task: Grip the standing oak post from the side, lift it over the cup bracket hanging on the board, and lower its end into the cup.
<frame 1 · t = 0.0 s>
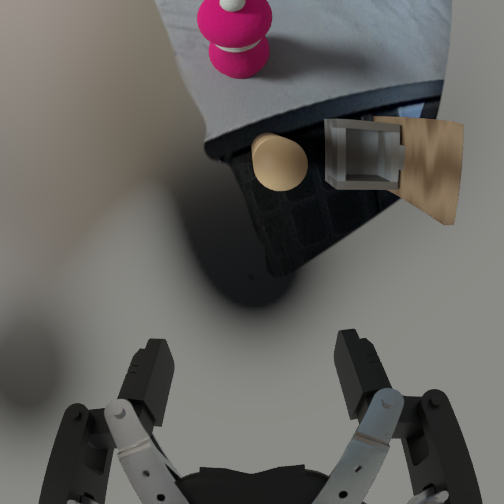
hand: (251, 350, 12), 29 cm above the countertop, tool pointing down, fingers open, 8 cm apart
cup bracket: (344, 147, 35), on the countertop
oak post: (267, 148, 35), on the countertop
pepper mill: (240, 58, 30), on the countertop
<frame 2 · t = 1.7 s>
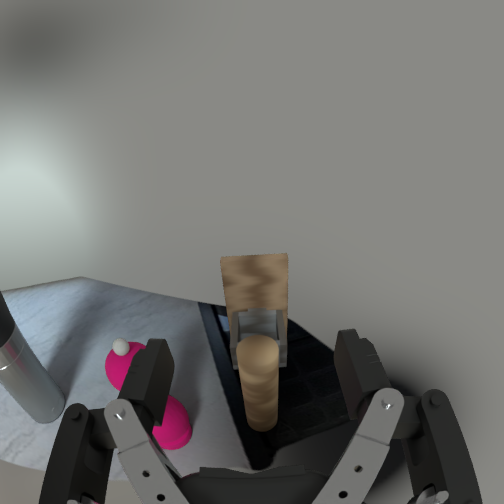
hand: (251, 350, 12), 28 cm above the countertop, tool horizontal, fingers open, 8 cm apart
cup bracket: (260, 364, 44), on the countertop
oak post: (262, 419, 34), on the countertop
pepper mill: (172, 433, 32), on the countertop
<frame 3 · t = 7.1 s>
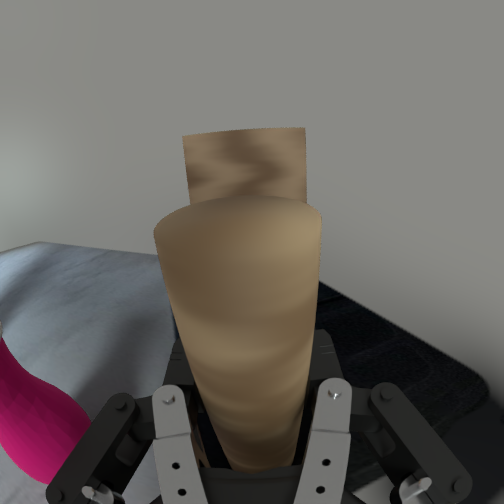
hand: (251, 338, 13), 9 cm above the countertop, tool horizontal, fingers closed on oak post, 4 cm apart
cup bracket: (257, 344, 24), on the countertop
oak post: (260, 454, 14), on the countertop, touching gripper
pepper mill: (81, 463, 12), on the countertop
when the fingers open (15 cm above the countertop, at t = 12.7 s): oak post drops 1 cm, resting on cup bracket.
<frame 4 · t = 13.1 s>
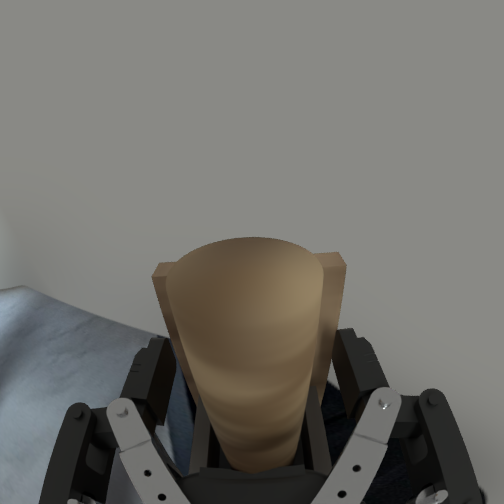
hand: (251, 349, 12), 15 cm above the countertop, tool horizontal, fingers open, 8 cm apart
cup bracket: (263, 476, 17), on the countertop
oak post: (261, 461, 15), point 5 cm above the countertop, touching cup bracket
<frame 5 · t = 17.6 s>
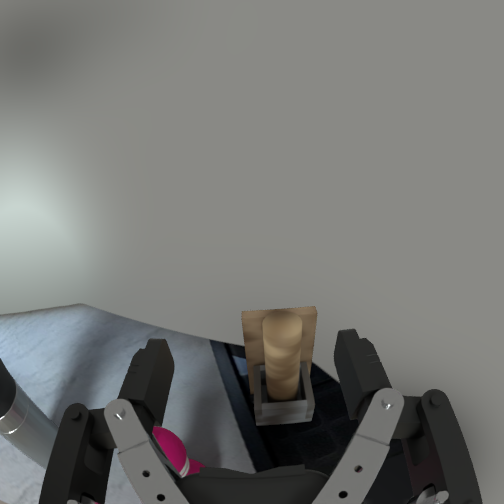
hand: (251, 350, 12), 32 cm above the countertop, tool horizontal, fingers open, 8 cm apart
cup bracket: (281, 414, 39), on the countertop
oak post: (282, 399, 37), point 5 cm above the countertop, touching cup bracket
pepper mill: (194, 488, 27), on the countertop
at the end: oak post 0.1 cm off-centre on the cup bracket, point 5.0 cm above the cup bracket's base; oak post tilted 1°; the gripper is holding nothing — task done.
